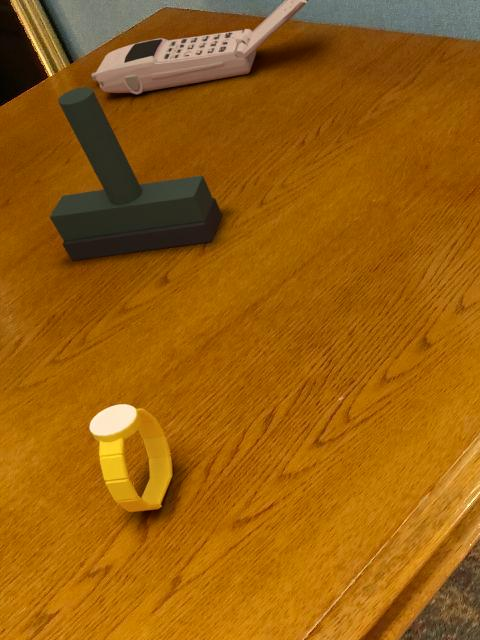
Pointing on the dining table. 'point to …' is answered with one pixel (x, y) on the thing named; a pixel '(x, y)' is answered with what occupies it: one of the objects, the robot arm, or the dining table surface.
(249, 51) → the mobile phone
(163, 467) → the watch
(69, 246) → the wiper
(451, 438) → the dining table surface
